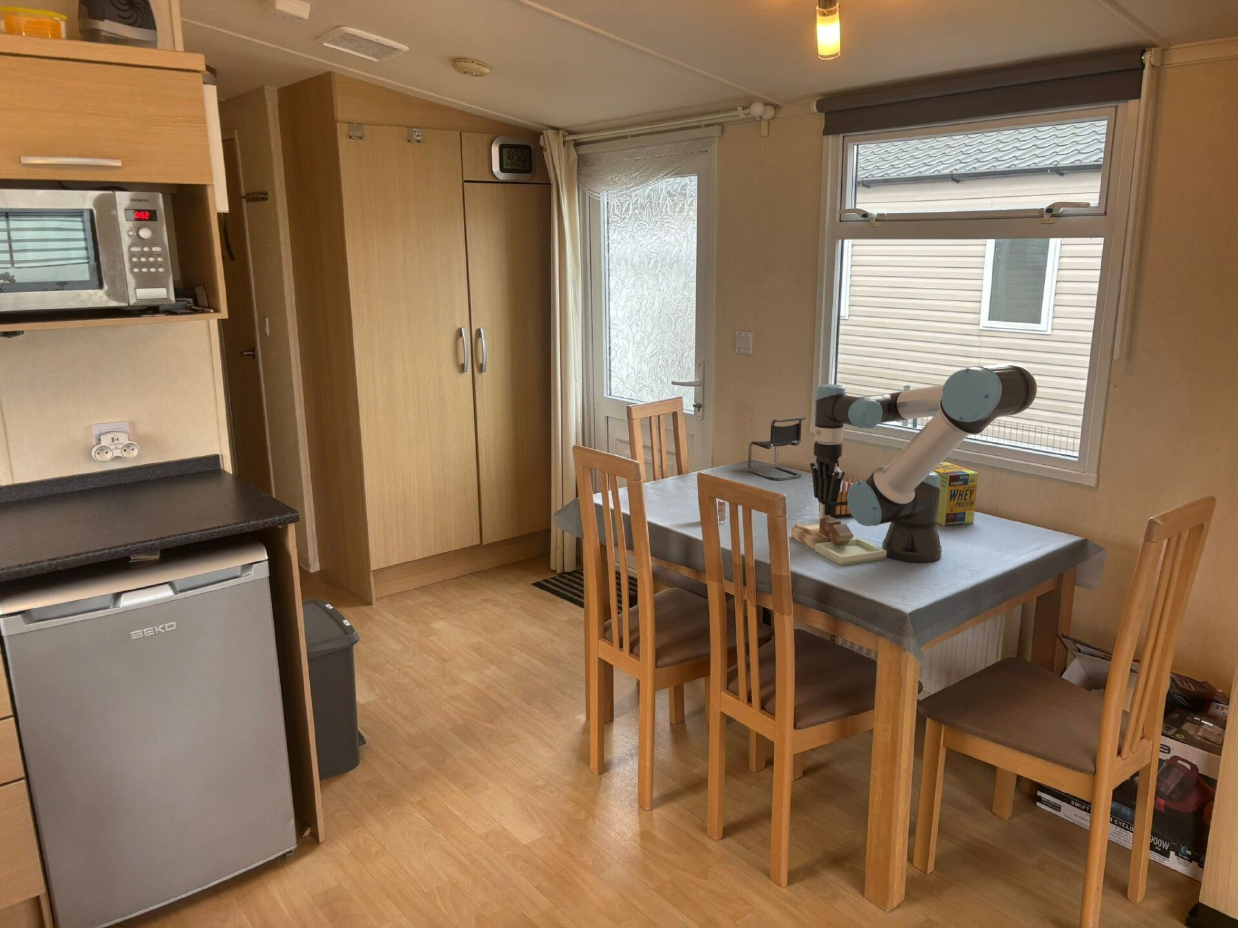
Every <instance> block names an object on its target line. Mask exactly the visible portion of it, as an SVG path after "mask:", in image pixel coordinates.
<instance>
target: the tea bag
mask: <svg viewBox="0 0 1238 928" xmlns="http://www.w3.org/2000/svg"><path fill="white" fill-rule="evenodd" d="M718 515H719V522H721V521H724V520H725V521H726V501H725V502H720V501H718Z"/></svg>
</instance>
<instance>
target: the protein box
mask: <svg viewBox="0 0 1238 928" xmlns="http://www.w3.org/2000/svg"><path fill="white" fill-rule="evenodd" d="M933 472H935V473H937V474H938V475H939V476H940V487H941V489H940V495H939V506H938V516H937V524H939V525H941V526H944V527H948V526H957V525H959V526H960V525H966V524H974V522H975V521H974V520H975V510H976V501H977V500H976V499H977V492H978V491H977V489H978V480H979V479H978V478H979V472H977V471H973V470H972V469H967V468H965V467H962V466H959V465H956V464H953V463H949V462H944V461H942V462H941V463H940V464H939V465H938V466H937V467H936V468H935V469H934V470H933Z"/></svg>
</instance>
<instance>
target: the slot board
mask: <svg viewBox="0 0 1238 928" xmlns="http://www.w3.org/2000/svg"><path fill="white" fill-rule="evenodd" d="M819 527H820V526H819V523H813V524H804V525H802V524H800V523H795V524H794V526H791V535H790V537H791V538H792V539H794V540H796V541H798V542H800V543H802V544H804V545H805V546H808V547H809V548H811V549H813V550H815V544H817V543H824V542H831V539H830V537H826V536H824V535H822V534H820V533H819ZM852 538H854V535H853V536H852V537H851V539H852Z"/></svg>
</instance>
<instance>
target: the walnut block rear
mask: <svg viewBox="0 0 1238 928" xmlns="http://www.w3.org/2000/svg"><path fill="white" fill-rule="evenodd" d="M839 524H842V521H841V520H839V519H838V518H836V519H835V518H832V517H831V518H824V519H820V527H819V533H820V534H822V535H824V536H826V537H829V536H828V535H829V533H830V531H831V529H832V527H833V525H839Z"/></svg>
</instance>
